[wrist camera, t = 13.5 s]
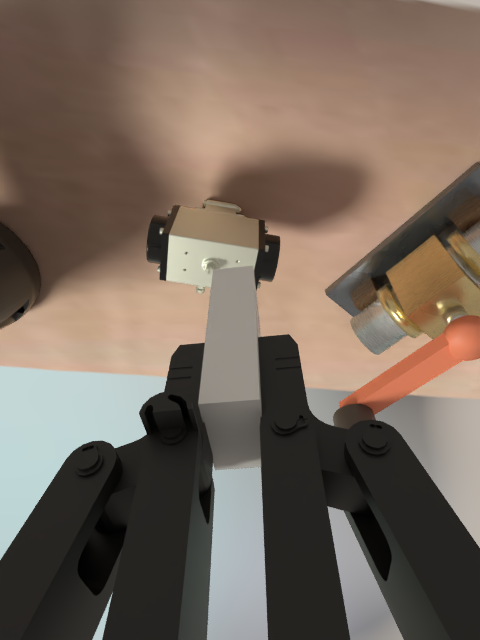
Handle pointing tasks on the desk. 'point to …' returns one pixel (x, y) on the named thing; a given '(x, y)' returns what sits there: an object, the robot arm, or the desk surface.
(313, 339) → the desk surface
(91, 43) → the desk surface
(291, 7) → the desk surface
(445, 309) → the valve assembly
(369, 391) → the valve lever
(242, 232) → the pneumatic valve
